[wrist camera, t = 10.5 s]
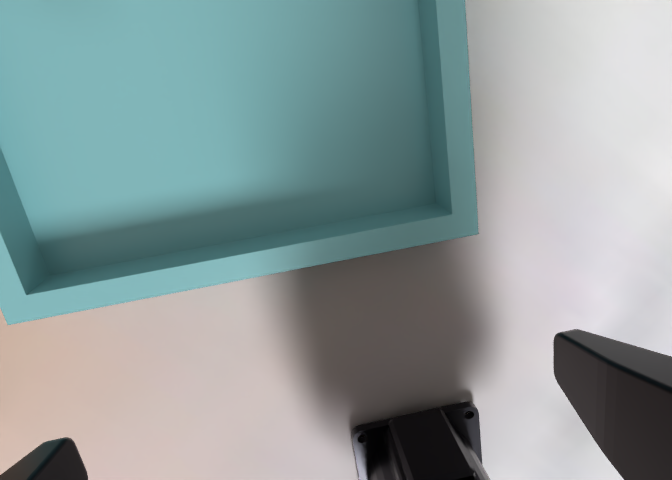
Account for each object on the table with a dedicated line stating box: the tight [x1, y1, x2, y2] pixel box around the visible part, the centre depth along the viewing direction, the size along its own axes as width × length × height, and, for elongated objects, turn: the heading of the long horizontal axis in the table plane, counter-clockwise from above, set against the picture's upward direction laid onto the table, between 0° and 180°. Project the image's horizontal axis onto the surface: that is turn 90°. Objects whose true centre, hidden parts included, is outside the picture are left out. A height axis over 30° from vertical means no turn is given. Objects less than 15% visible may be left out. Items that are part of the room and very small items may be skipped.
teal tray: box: [0, 0, 478, 325], centre depth 16 cm, size 18×18×2 cm
